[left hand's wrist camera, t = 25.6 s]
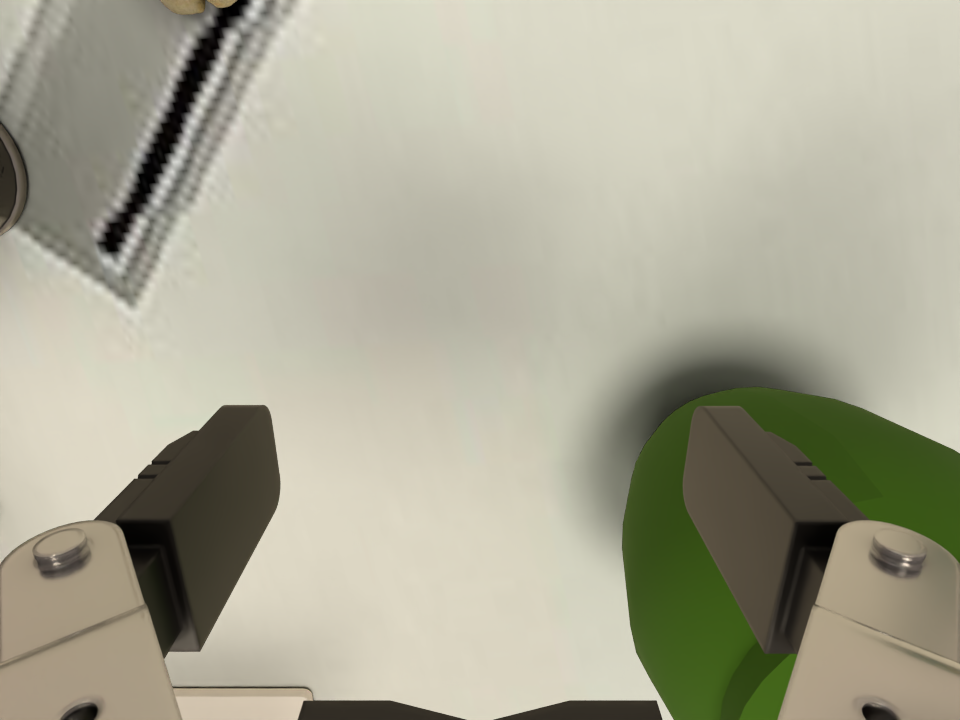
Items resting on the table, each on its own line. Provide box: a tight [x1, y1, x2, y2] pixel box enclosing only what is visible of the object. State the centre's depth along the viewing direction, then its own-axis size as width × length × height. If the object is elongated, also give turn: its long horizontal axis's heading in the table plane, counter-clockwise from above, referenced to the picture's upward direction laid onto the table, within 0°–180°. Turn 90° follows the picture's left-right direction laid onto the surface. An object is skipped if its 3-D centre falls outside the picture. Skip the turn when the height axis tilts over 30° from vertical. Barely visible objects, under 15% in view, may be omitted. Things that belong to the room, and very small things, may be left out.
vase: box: [622, 387, 960, 720], centre depth 33 cm, size 20×20×24 cm
